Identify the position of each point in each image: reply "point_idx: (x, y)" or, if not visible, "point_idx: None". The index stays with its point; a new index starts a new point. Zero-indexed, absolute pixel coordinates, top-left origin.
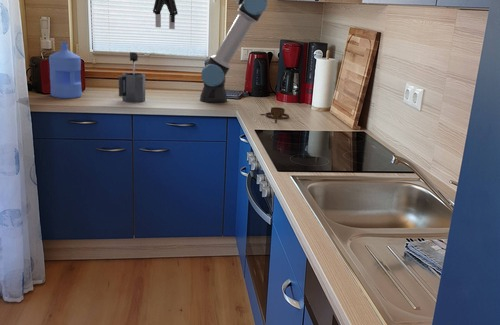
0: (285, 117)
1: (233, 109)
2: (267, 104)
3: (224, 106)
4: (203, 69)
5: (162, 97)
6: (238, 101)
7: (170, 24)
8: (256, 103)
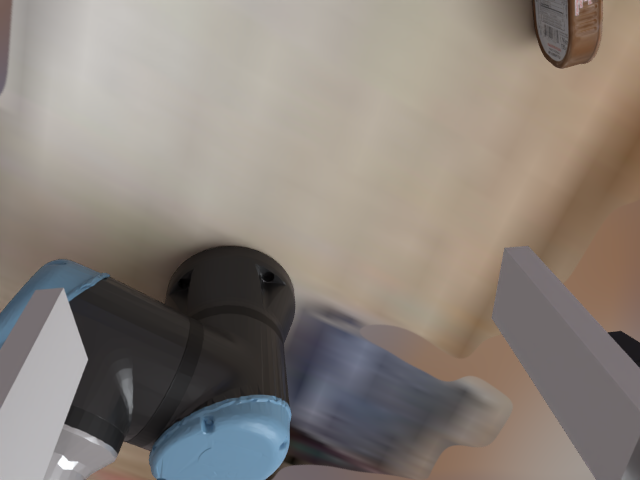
0: None
1: (10, 284)
2: None
3: None
4: (24, 297)
5: (384, 107)
6: None
7: (8, 352)
8: None
